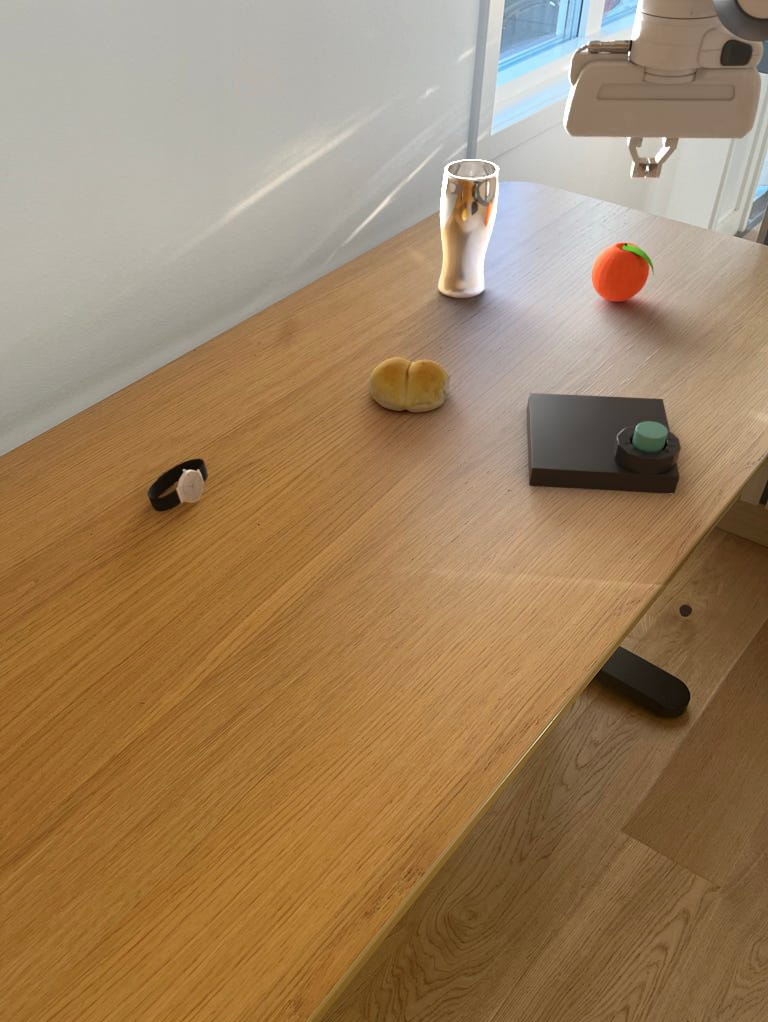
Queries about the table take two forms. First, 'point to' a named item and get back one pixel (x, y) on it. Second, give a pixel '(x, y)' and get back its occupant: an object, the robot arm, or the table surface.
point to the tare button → (650, 436)
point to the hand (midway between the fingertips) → (644, 176)
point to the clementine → (620, 271)
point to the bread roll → (409, 384)
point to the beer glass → (466, 225)
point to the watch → (179, 485)
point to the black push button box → (597, 444)
